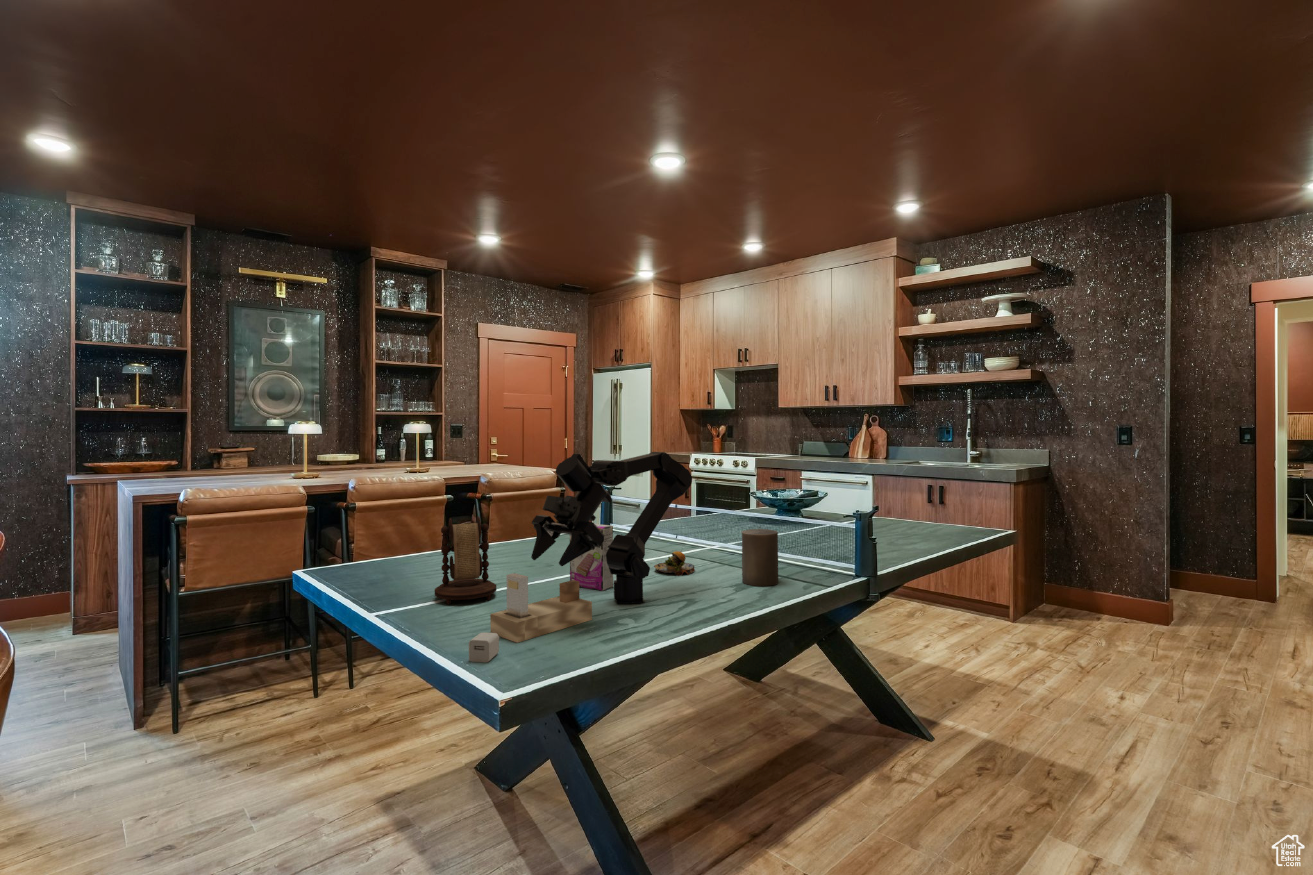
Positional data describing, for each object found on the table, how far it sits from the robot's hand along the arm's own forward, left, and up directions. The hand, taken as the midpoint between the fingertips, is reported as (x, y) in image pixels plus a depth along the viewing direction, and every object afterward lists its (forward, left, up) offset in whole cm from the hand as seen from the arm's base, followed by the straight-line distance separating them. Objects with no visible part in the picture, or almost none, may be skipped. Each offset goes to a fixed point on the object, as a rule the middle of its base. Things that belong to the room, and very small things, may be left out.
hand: (546, 561), depth 143 cm
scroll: (+21, -25, -14) cm, 36 cm away
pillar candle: (-55, -31, -14) cm, 65 cm away
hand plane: (+1, +1, -14) cm, 14 cm away
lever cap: (+6, +5, -14) cm, 16 cm away
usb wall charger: (+10, +17, -14) cm, 24 cm away
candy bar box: (-10, -32, -14) cm, 36 cm away
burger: (-34, -47, -14) cm, 60 cm away
